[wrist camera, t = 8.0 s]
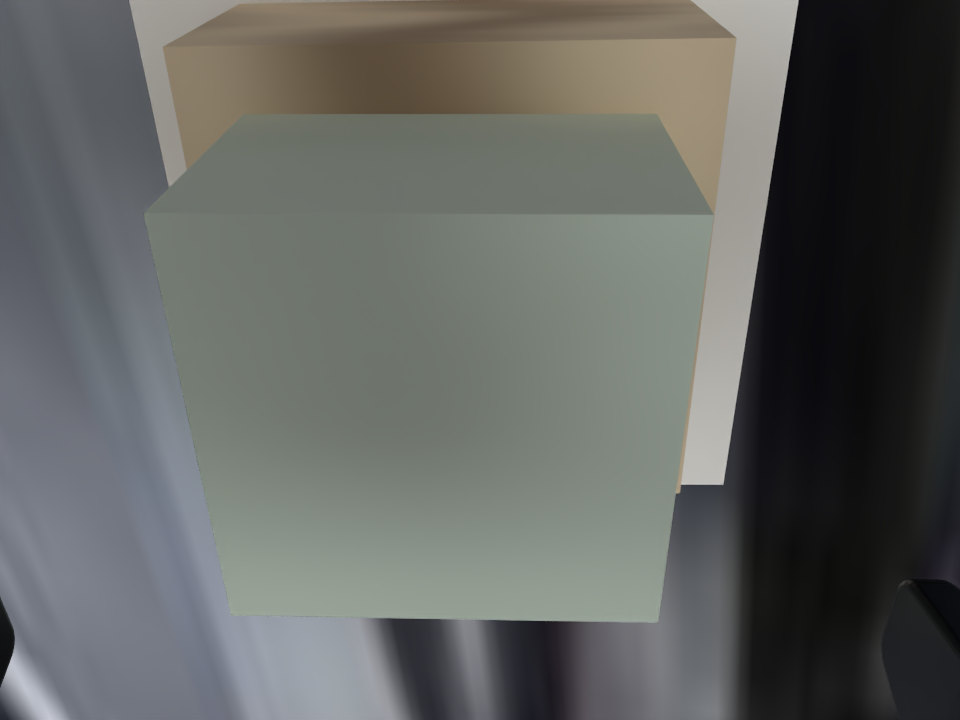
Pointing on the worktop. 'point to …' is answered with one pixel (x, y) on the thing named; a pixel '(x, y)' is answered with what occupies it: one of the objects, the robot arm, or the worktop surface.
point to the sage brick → (437, 359)
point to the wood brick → (463, 68)
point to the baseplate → (739, 205)
